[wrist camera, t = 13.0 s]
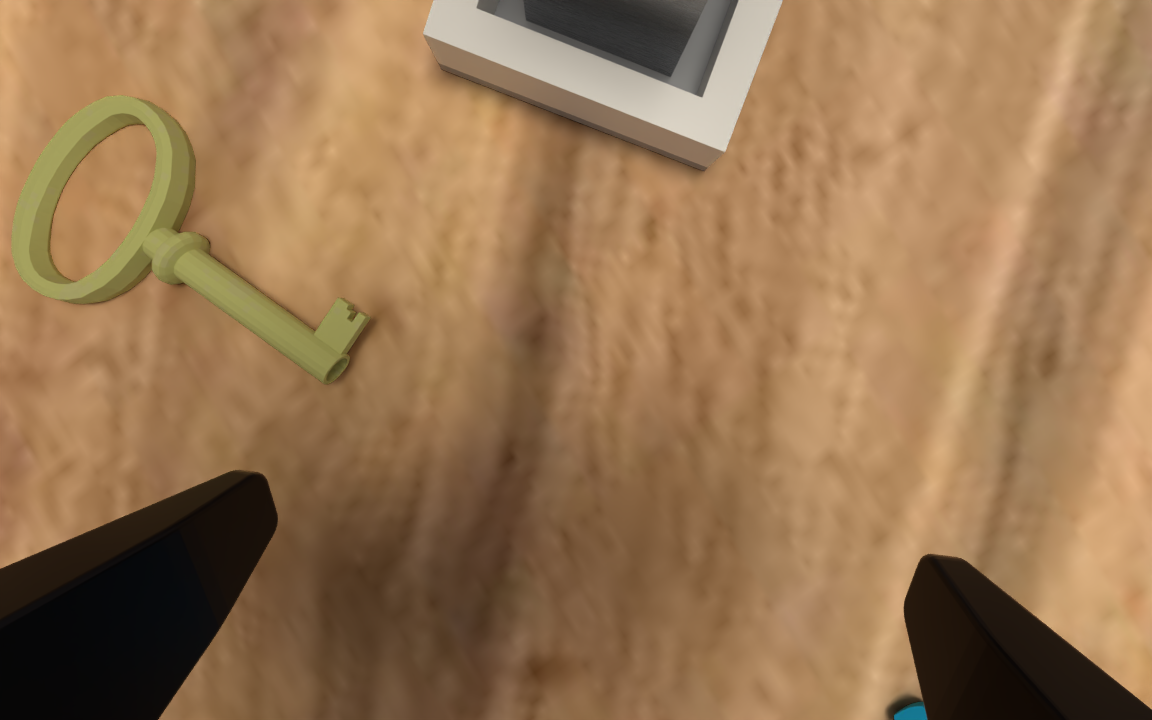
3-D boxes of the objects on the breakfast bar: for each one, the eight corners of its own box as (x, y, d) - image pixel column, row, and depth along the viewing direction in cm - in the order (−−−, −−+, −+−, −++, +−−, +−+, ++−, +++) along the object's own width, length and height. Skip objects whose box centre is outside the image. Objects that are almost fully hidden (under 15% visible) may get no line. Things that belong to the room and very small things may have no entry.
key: (366, 384, 20) (342, 394, 18) (22, 283, 20) (-45, 280, 17) (419, 187, 20) (401, 173, 17) (65, 77, 19) (2, 49, 17)
